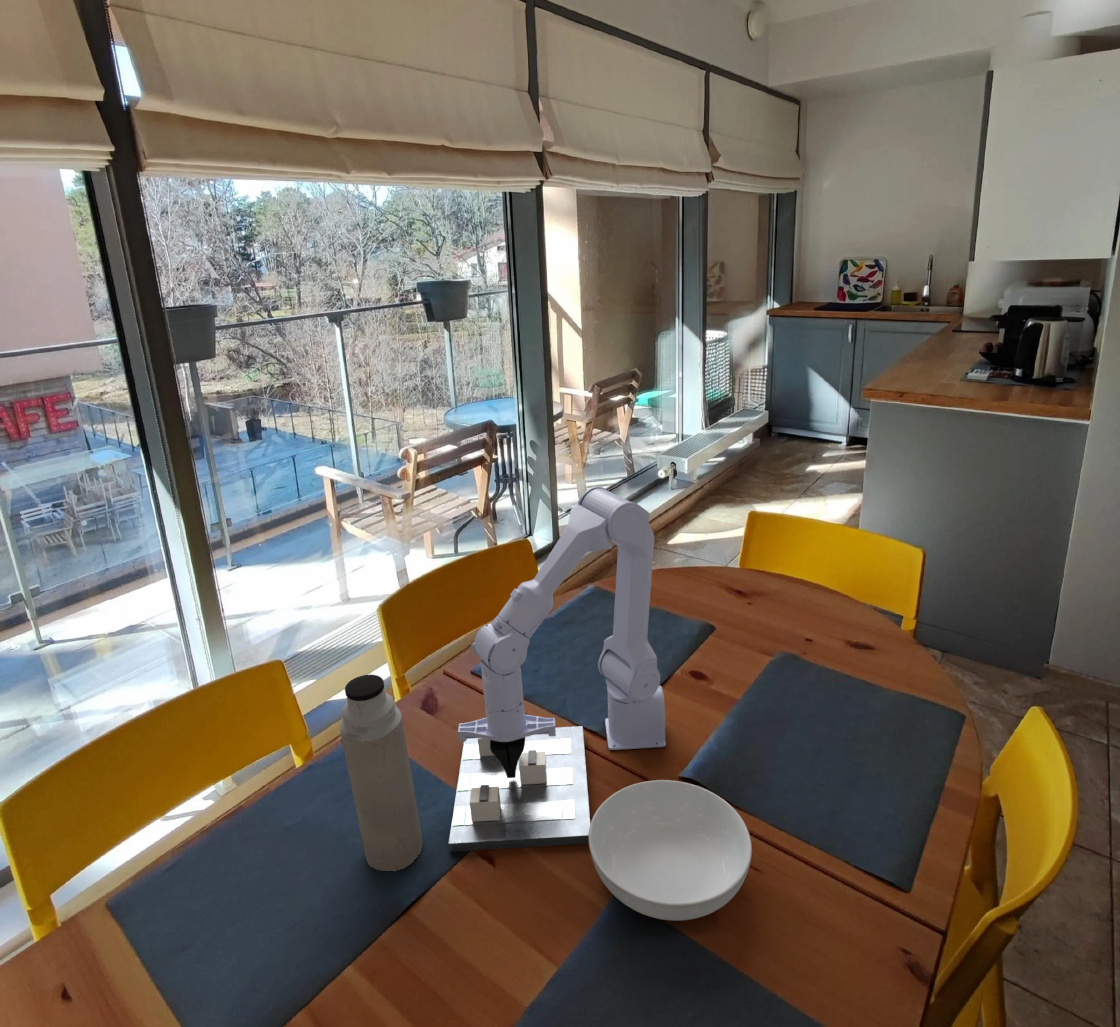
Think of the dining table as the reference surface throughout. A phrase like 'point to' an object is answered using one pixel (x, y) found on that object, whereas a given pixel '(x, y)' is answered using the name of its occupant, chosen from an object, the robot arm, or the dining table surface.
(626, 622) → the robot arm
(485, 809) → the block
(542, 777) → the block
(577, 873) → the dining table surface
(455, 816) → the panel
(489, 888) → the dining table surface
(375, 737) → the thermos bottle
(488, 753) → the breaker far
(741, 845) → the serving bowl
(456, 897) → the dining table surface
